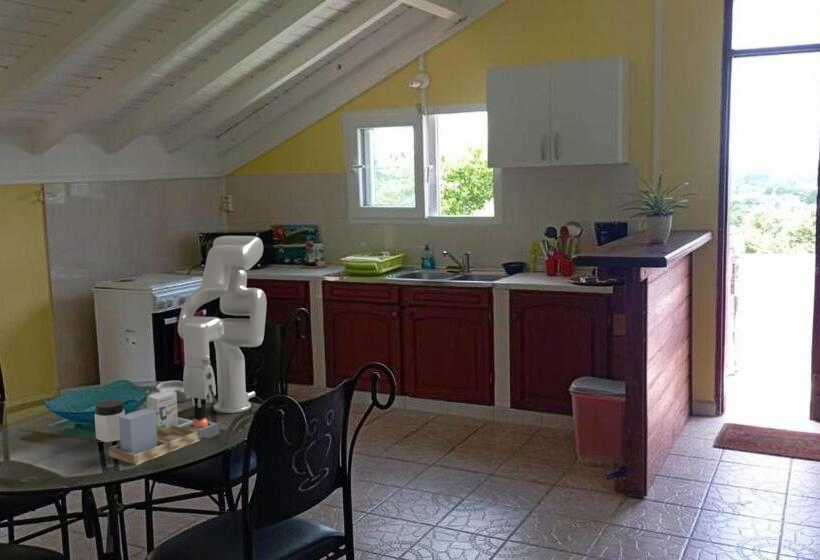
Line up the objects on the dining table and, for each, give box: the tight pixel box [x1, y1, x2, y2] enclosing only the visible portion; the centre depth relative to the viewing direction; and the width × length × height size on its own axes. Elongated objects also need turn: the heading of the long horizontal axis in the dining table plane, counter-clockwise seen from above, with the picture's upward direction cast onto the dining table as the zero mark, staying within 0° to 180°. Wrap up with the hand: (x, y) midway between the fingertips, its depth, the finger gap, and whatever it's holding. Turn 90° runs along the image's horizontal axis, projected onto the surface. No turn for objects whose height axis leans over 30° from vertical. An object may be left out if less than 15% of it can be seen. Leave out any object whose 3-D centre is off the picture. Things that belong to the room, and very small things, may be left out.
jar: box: [94, 399, 126, 443], centre depth 257 cm, size 9×8×12 cm
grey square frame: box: [182, 420, 220, 439], centre depth 262 cm, size 8×8×4 cm
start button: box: [192, 418, 208, 429], centre depth 261 cm, size 4×4×4 cm
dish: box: [155, 380, 190, 403], centre depth 303 cm, size 14×14×5 cm
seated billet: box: [119, 408, 157, 454], centre depth 242 cm, size 9×5×12 cm, turn 147°
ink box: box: [146, 390, 179, 430], centre depth 267 cm, size 9×5×12 cm, turn 148°
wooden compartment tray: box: [107, 425, 201, 466], centre depth 248 cm, size 24×13×4 cm, turn 147°
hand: (200, 418), depth 261 cm, fingers closed
